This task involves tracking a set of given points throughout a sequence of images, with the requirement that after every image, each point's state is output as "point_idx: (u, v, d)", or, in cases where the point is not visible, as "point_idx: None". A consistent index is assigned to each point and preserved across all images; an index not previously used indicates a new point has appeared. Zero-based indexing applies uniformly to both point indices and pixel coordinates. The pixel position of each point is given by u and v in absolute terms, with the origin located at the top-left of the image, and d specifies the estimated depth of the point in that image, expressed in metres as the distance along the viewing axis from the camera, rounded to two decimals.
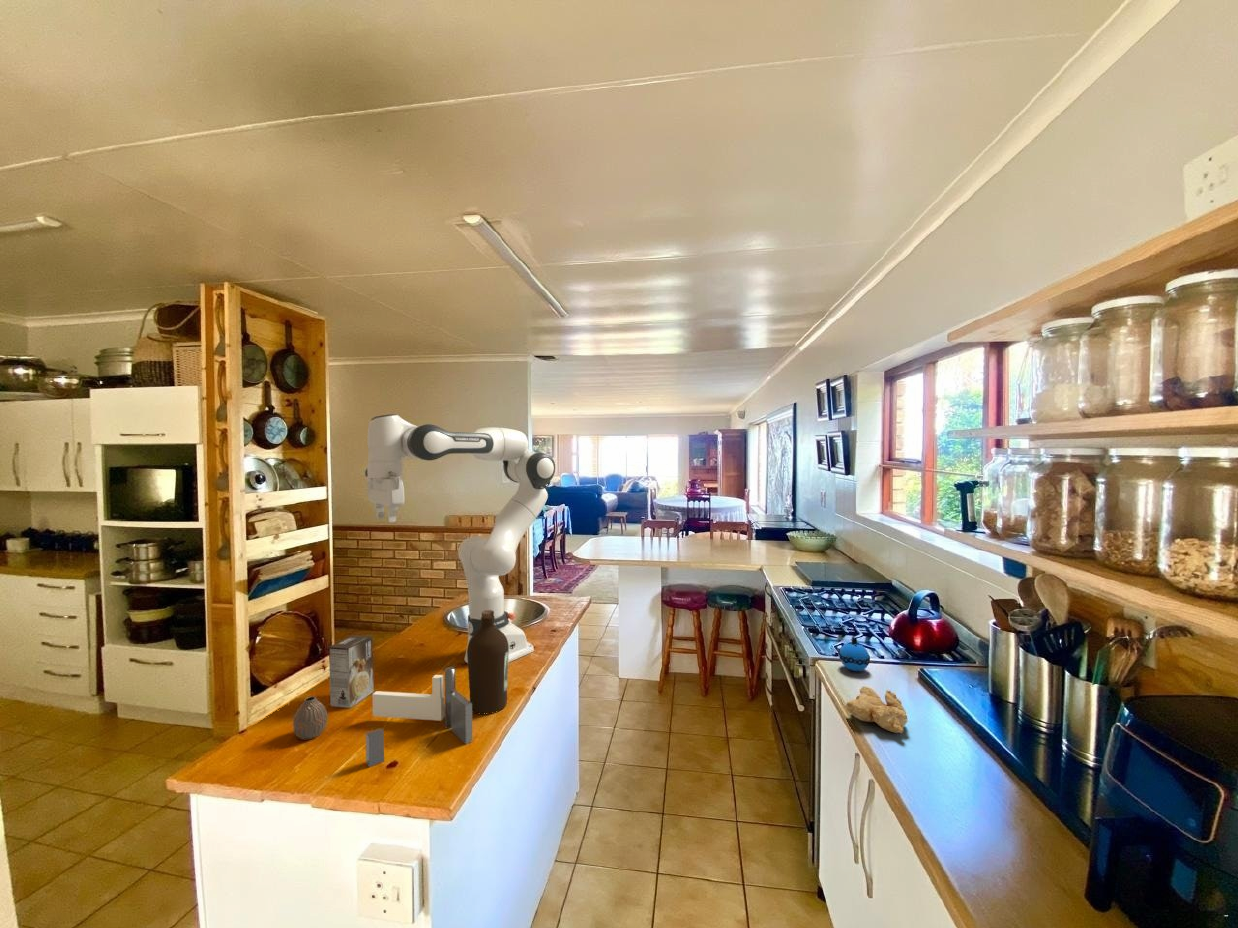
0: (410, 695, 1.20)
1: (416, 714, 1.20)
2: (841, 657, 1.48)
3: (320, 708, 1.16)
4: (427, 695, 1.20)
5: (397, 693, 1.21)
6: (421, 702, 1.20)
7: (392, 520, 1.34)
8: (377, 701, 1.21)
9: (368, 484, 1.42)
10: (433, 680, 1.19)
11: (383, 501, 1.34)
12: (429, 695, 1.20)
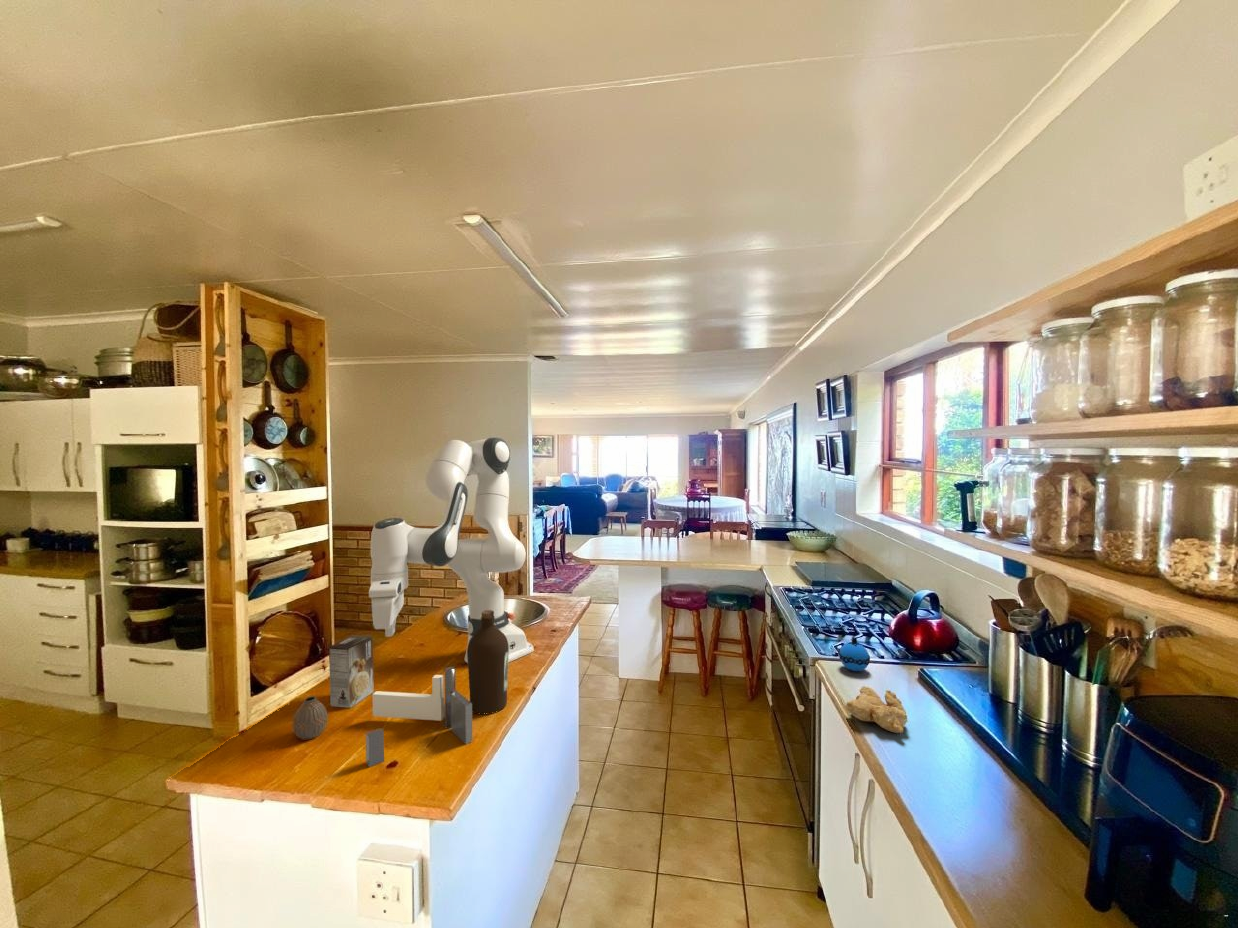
0: (410, 695, 1.20)
1: (416, 714, 1.20)
2: (841, 657, 1.48)
3: (320, 708, 1.16)
4: (427, 695, 1.20)
5: (397, 693, 1.21)
6: (421, 702, 1.20)
7: None
8: (377, 701, 1.21)
9: None
10: (433, 680, 1.19)
11: (400, 607, 1.31)
12: (429, 695, 1.20)
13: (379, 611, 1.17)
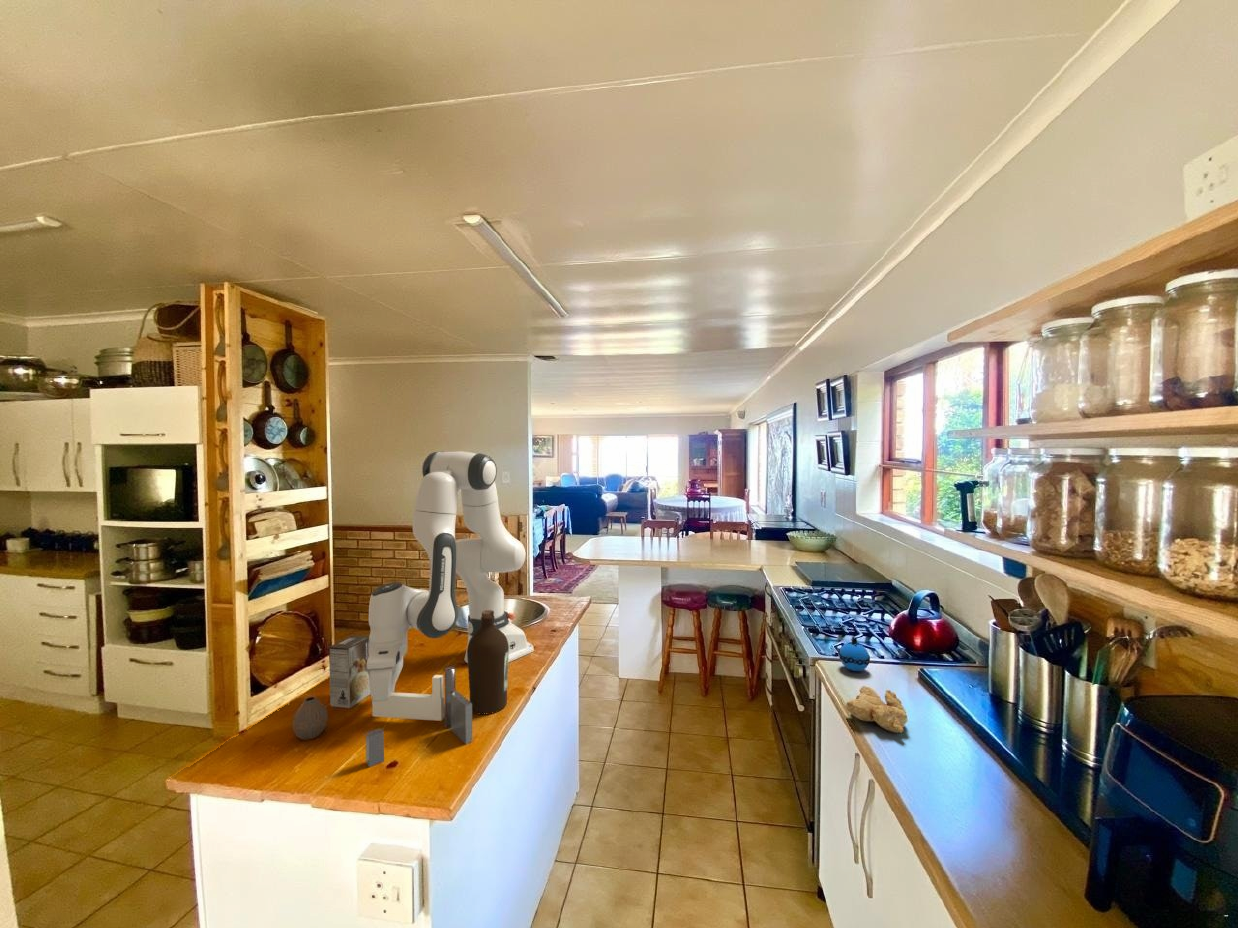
0: (410, 695, 1.20)
1: (416, 714, 1.20)
2: (841, 657, 1.48)
3: (320, 708, 1.16)
4: (427, 695, 1.20)
5: (397, 693, 1.21)
6: (421, 702, 1.20)
7: None
8: None
9: None
10: (433, 680, 1.19)
11: (399, 672, 1.29)
12: (429, 695, 1.20)
13: (377, 684, 1.15)
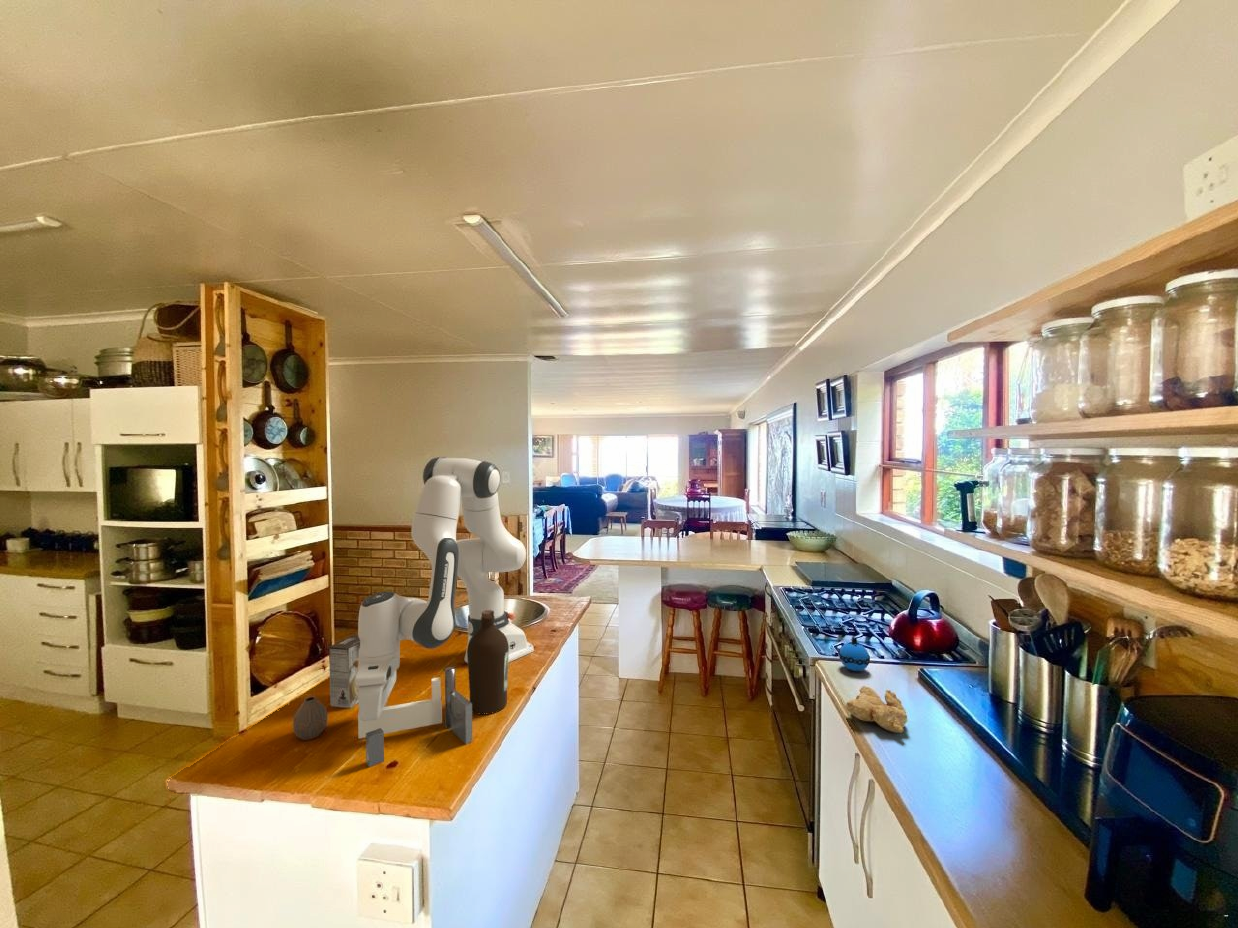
0: (404, 705, 1.15)
1: (413, 723, 1.16)
2: (841, 657, 1.48)
3: (320, 708, 1.16)
4: (423, 701, 1.17)
5: (387, 707, 1.15)
6: (419, 709, 1.16)
7: None
8: (364, 721, 1.12)
9: None
10: (433, 684, 1.17)
11: (391, 687, 1.21)
12: (426, 701, 1.18)
13: (366, 702, 1.07)
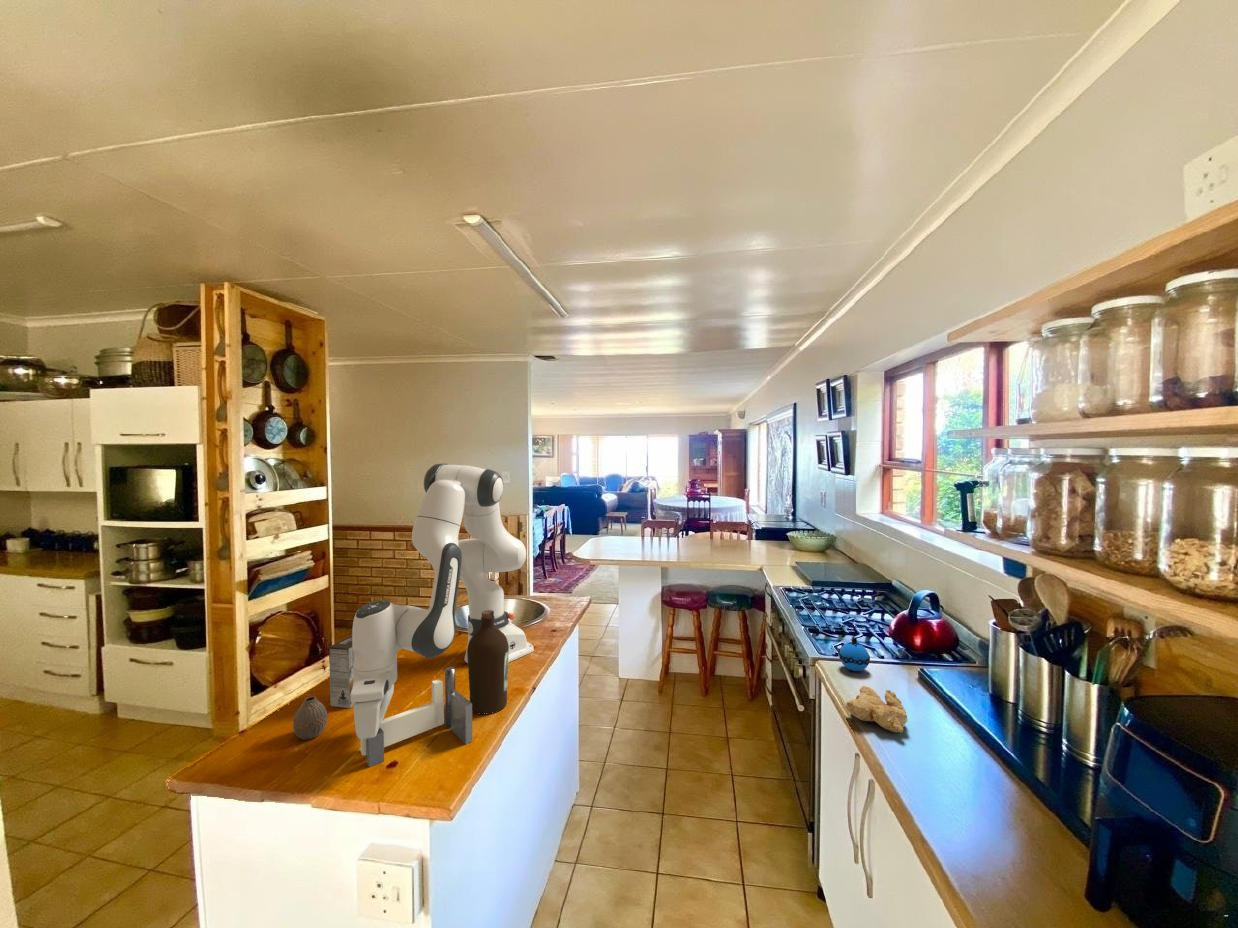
0: (408, 713, 1.12)
1: (416, 729, 1.13)
2: (841, 657, 1.48)
3: (320, 708, 1.16)
4: (425, 705, 1.15)
5: (390, 718, 1.10)
6: (422, 714, 1.14)
7: None
8: None
9: None
10: (435, 686, 1.16)
11: (389, 700, 1.15)
12: (427, 704, 1.16)
13: (363, 719, 1.01)
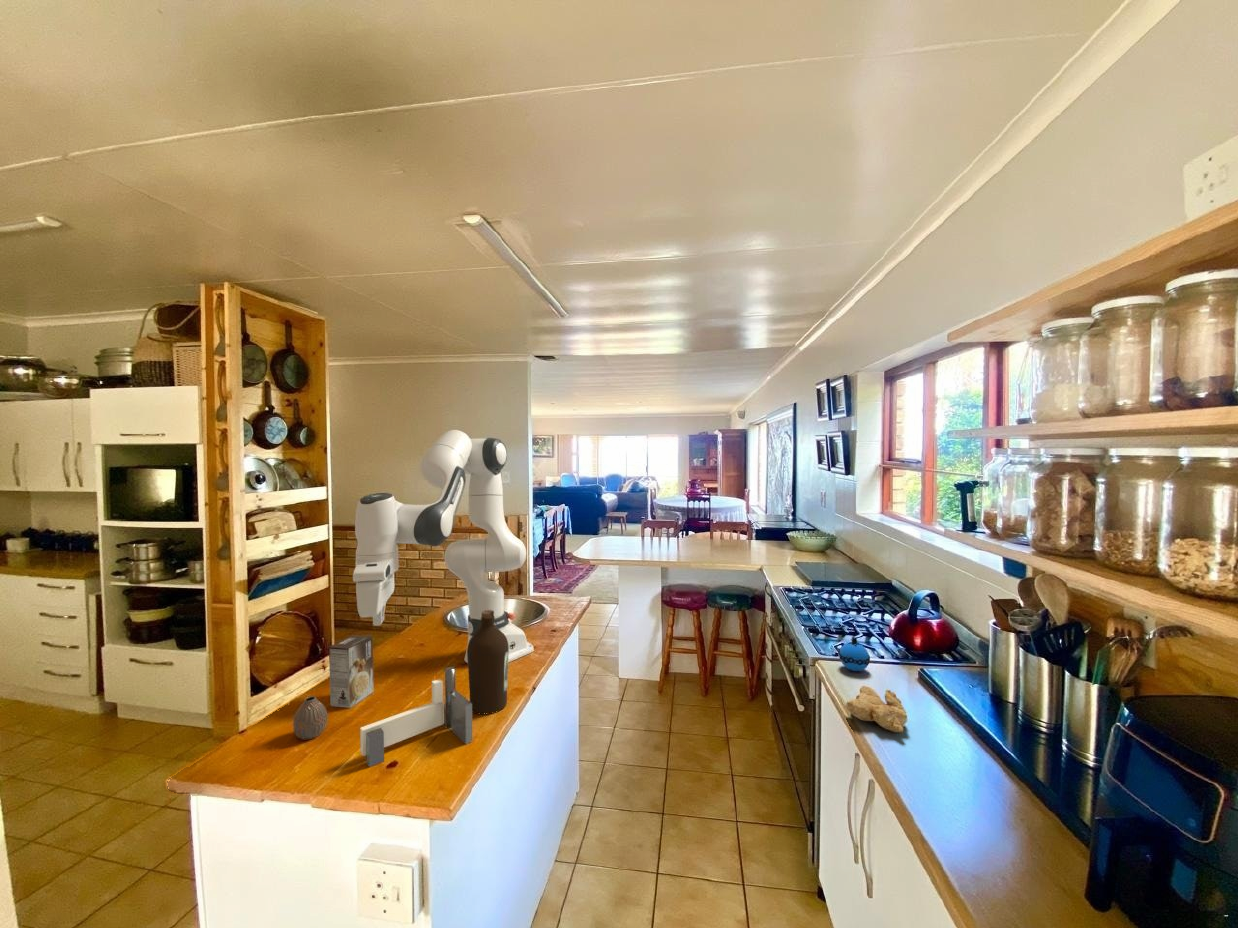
0: (408, 713, 1.12)
1: (417, 729, 1.13)
2: (841, 657, 1.48)
3: (320, 708, 1.16)
4: (425, 705, 1.15)
5: (390, 718, 1.10)
6: (422, 714, 1.14)
7: None
8: None
9: None
10: (435, 686, 1.16)
11: (389, 593, 1.17)
12: (427, 705, 1.16)
13: (365, 597, 1.03)
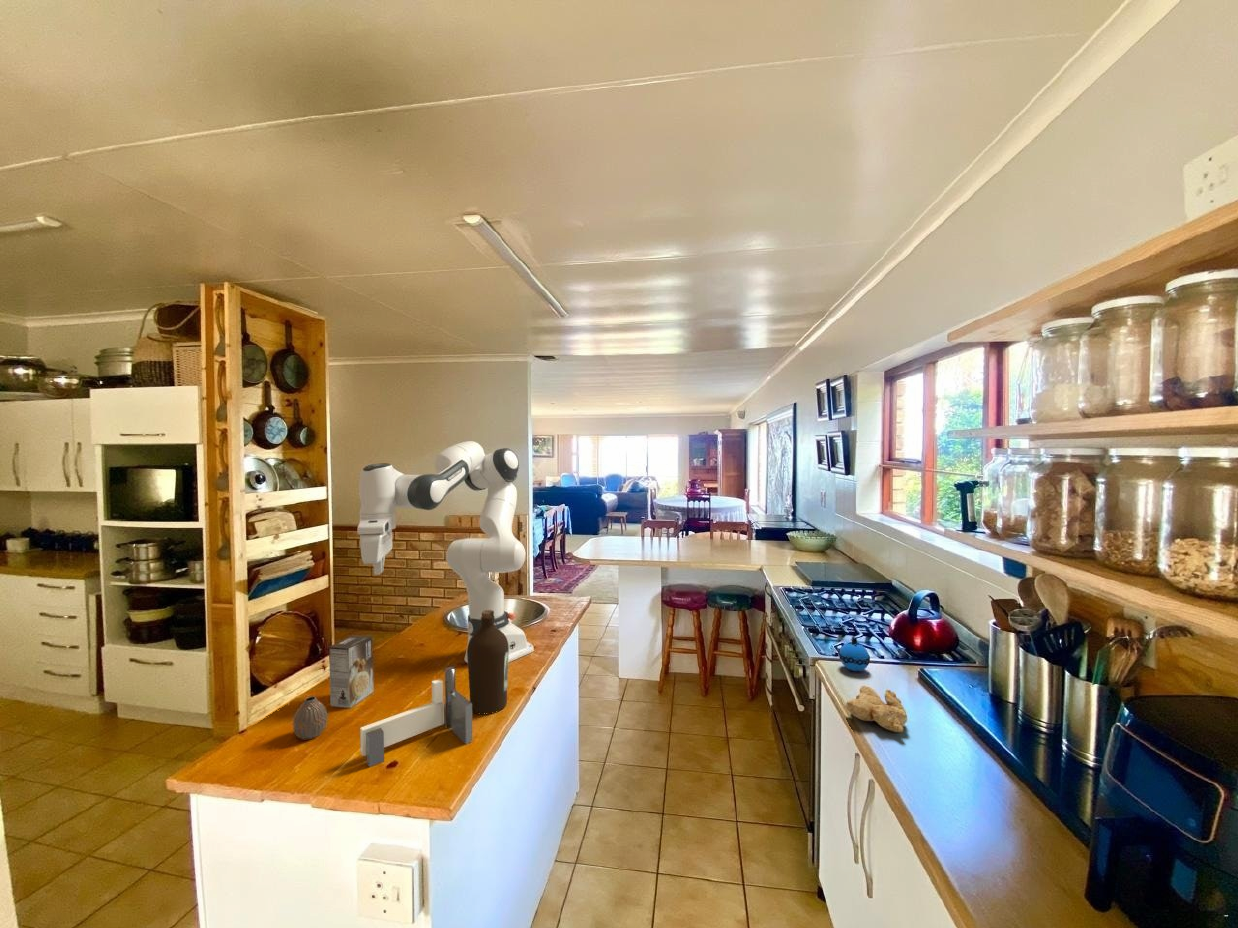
0: (408, 713, 1.12)
1: (417, 729, 1.13)
2: (841, 657, 1.48)
3: (320, 708, 1.16)
4: (425, 705, 1.15)
5: (390, 718, 1.10)
6: (422, 714, 1.14)
7: None
8: None
9: None
10: (435, 686, 1.16)
11: (388, 549, 1.37)
12: (427, 705, 1.16)
13: (367, 547, 1.24)
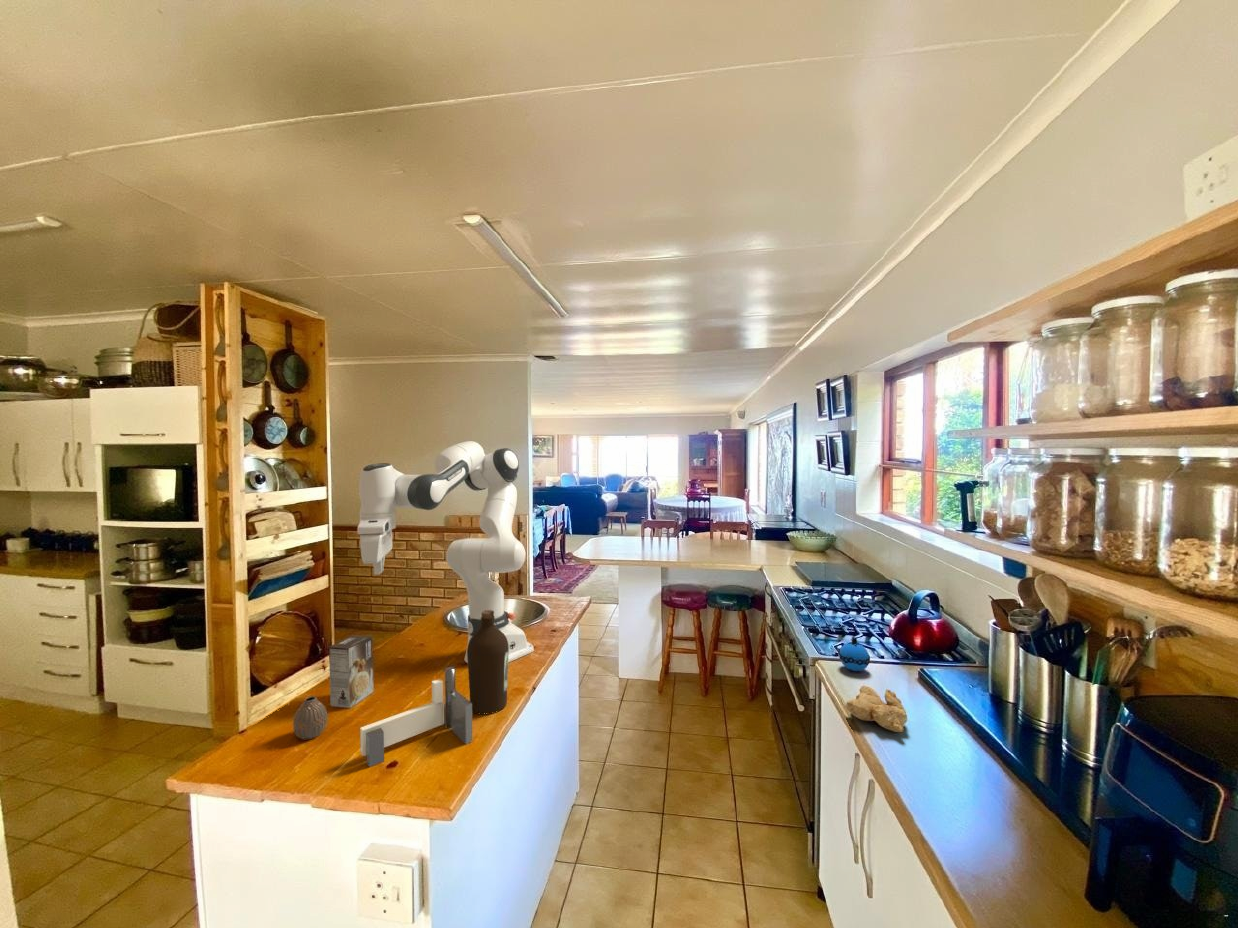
0: (408, 713, 1.12)
1: (417, 729, 1.13)
2: (841, 657, 1.48)
3: (320, 708, 1.16)
4: (425, 705, 1.15)
5: (390, 718, 1.10)
6: (422, 714, 1.14)
7: None
8: None
9: None
10: (435, 686, 1.16)
11: (388, 549, 1.37)
12: (427, 705, 1.16)
13: (367, 547, 1.24)
